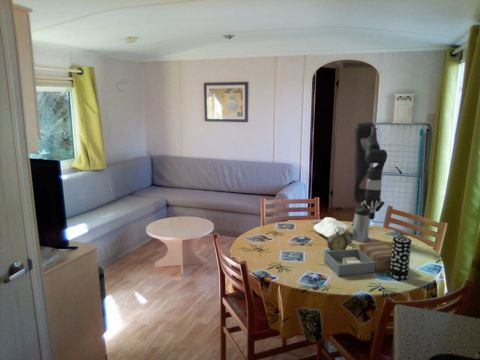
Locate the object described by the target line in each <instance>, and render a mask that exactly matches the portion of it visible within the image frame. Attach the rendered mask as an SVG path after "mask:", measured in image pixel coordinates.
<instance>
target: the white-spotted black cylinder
mask: <svg viewBox="0 0 480 360" xmlns="http://www.w3.org/2000/svg"><path fill="white" fill-rule="evenodd" d="M391 246H392V247H391V248H392V255H391V266H390V272H389V277H390V278H391V279H392V280H395V281H398V282H399V281H400V282H406V281H407V280H408V276H409V268H410V267H409V266H410V257H411V248H412V239H410V237H409V238H408V237H405V236H394V237H393V238H392V245H391Z"/></svg>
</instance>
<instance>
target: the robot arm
mask: <svg viewBox="0 0 480 360" xmlns="http://www.w3.org/2000/svg"><path fill="white" fill-rule="evenodd" d="M363 139H365V141H364V145H363V144H362V140H363ZM354 144H355V145H354V147H355V148H354V149H355V150H354V182H353V183H354V185H353V194H352V195H353V196H352V197H353V199H352V200H353V201H354V203H358V204H360V205H361V206H359V207H356V208H355V209H354V221H353V227H352V230H353V231H352V239H353V240H354V241H356V242H361V243H367V242H368V241H369V233H370V221H371V220H374V219H375V217H376V216H375V215H376V212H379V211H380V210H381V209H382V207H383V206H384V205H385V202H384V201H382V199H381V197H382V196H381V195H382V185H383V184H382V177H383V176H382V175H383V170H384V166H385V164H386V162H387V159H388V153H387V151H386V150H385V149H381V146H380V145H379V142H378V137H377V132H376V126H375V124H374V123H373V122H358V123H356V124H355V125H354ZM371 164H376V166H373V167H372V165H371ZM365 178H366V184H365V188H360V187H361V184H362V182H363V181H364V179H365Z"/></svg>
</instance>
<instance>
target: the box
mask: <svg viewBox="0 0 480 360" xmlns="http://www.w3.org/2000/svg"><path fill="white" fill-rule="evenodd" d="M323 253H324V254H323V257H324V258H323V262H324V263H325V264H326V265H327V266H328V267H329V268H330V270H332V271H333V273H334V274H335V275H336V276H337V277H338V278H339V277H347V276H348V277H349V276H358V275H359V276H360V275H370V274H376V273H375V264H376V262H375V261H373V260H372V259H371V258H369V257H368V256H367V255H366V254H364V253H363V252H362V251H360V250H359V248H353V249H352V248H351V249H350V248H349V249H345V250H336V251H331V250H326V251H324V252H323ZM348 257H356V258H357V259H358V260H359V261H360V262H361V263H354V264H343V258H348Z"/></svg>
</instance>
